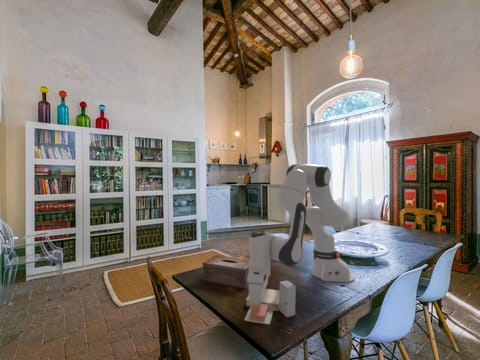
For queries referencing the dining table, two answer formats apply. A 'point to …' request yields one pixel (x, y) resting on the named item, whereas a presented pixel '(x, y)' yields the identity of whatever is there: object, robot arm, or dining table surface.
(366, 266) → the dining table surface
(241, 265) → the tissue box cover
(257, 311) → the pink tray
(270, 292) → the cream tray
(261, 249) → the robot arm
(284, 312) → the skincare box
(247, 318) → the mat
